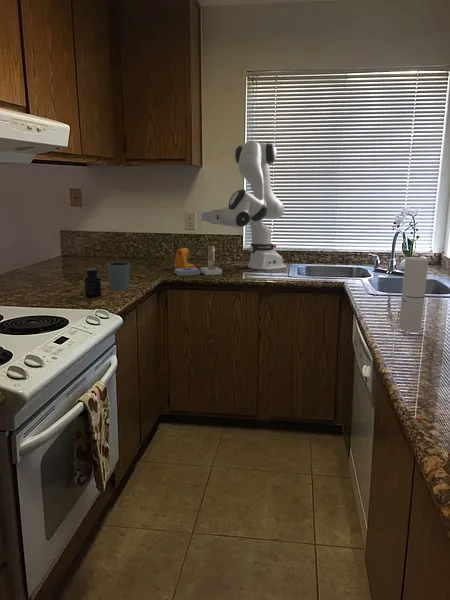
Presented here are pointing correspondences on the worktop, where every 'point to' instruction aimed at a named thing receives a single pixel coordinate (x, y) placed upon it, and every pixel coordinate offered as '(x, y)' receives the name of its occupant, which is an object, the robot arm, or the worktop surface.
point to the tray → (211, 271)
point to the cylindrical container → (413, 294)
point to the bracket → (182, 259)
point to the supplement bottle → (92, 283)
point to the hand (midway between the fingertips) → (214, 214)
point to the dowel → (211, 257)
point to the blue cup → (118, 275)
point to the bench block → (186, 271)
